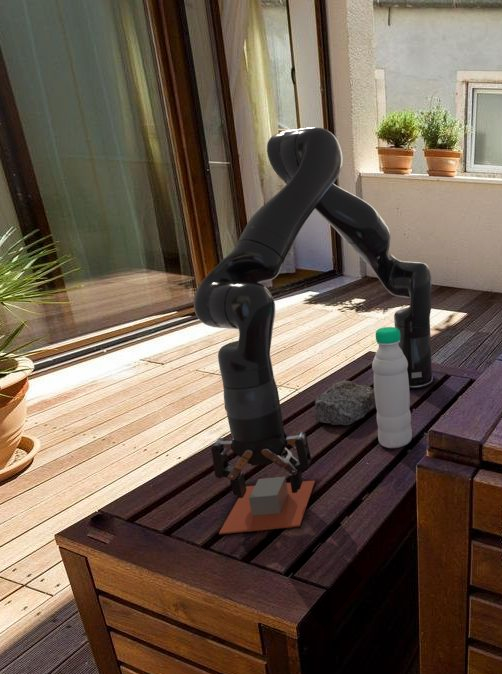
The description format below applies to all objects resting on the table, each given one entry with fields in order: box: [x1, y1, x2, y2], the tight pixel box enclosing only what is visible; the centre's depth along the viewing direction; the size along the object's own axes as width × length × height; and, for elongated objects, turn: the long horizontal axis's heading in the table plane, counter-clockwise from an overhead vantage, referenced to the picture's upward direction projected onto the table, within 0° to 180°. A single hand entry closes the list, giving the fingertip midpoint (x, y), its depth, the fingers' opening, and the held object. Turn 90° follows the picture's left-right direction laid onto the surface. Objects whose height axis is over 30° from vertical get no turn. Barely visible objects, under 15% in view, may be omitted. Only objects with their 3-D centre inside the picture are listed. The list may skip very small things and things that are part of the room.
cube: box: [249, 476, 288, 516], centre depth 79 cm, size 5×4×4 cm
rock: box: [314, 379, 376, 426], centre depth 111 cm, size 13×6×15 cm
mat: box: [218, 480, 316, 535], centre depth 80 cm, size 12×12×1 cm
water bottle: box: [371, 326, 413, 449], centre depth 96 cm, size 7×7×25 cm
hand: (269, 492), depth 79 cm, fingers open, 8 cm apart
